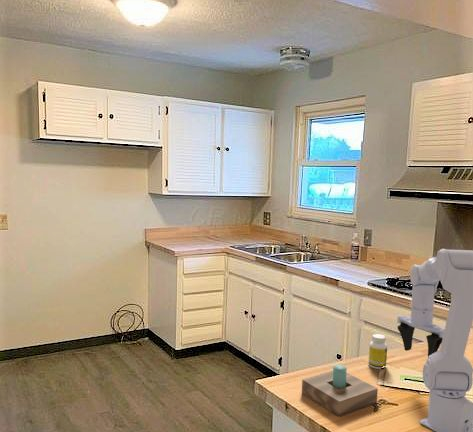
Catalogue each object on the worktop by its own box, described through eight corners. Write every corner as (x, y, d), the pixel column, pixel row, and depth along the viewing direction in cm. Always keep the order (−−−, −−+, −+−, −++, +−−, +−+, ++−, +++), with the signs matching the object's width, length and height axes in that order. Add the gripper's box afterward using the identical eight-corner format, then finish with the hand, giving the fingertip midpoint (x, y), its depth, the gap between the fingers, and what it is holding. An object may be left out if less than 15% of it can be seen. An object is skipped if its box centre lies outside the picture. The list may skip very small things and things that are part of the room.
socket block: (376, 402, 121) (377, 388, 121) (338, 417, 113) (339, 401, 113) (338, 382, 133) (339, 368, 132) (301, 393, 125) (302, 379, 125)
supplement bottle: (387, 370, 141) (388, 339, 141) (369, 368, 143) (370, 338, 142) (385, 363, 147) (386, 334, 146) (367, 361, 148) (369, 332, 147)
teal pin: (348, 397, 123) (349, 368, 122) (338, 400, 121) (340, 371, 120) (338, 392, 125) (339, 364, 125) (329, 395, 124) (330, 366, 123)
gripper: (454, 312, 124) (451, 360, 125) (409, 299, 136) (406, 343, 137) (439, 316, 120) (435, 366, 122) (393, 302, 132) (391, 347, 134)
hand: (419, 354), depth 129 cm, fingers open, 7 cm apart
